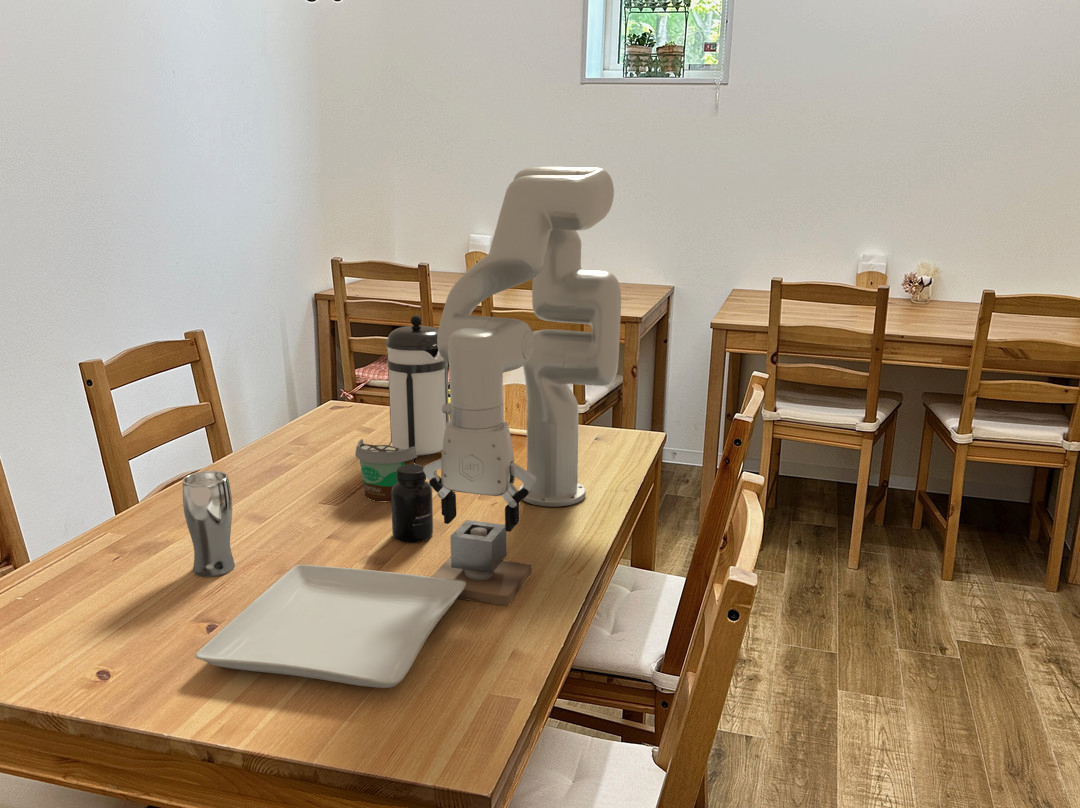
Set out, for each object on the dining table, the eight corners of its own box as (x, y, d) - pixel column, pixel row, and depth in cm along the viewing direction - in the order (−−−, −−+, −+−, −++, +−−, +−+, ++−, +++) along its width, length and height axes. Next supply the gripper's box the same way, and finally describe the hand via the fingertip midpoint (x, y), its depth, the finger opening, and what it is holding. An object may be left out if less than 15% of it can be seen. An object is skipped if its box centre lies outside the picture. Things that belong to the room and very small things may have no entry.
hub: (467, 550, 140) (466, 519, 139) (506, 555, 139) (506, 524, 137) (451, 567, 135) (450, 536, 133) (492, 573, 133) (491, 541, 131)
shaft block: (453, 562, 144) (452, 512, 142) (531, 573, 141) (531, 522, 138) (424, 593, 134) (422, 539, 132) (508, 606, 130) (507, 551, 128)
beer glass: (247, 562, 144) (239, 472, 140) (218, 581, 138) (209, 488, 134) (210, 556, 146) (201, 467, 142) (180, 574, 140) (170, 482, 136)
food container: (344, 498, 170) (341, 447, 168) (362, 488, 176) (359, 438, 173) (401, 508, 166) (399, 456, 163) (418, 497, 171) (416, 446, 169)
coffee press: (466, 444, 202) (463, 310, 194) (442, 468, 187) (438, 323, 179) (392, 438, 206) (386, 306, 198) (363, 461, 191) (356, 319, 183)
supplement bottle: (426, 545, 150) (423, 477, 147) (386, 542, 152) (383, 474, 148) (438, 529, 157) (436, 463, 154) (400, 526, 158) (398, 460, 155)
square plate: (469, 602, 133) (468, 577, 132) (399, 710, 107) (398, 681, 106) (298, 582, 138) (296, 558, 137) (193, 680, 113) (190, 652, 112)
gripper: (410, 417, 130) (416, 527, 135) (526, 428, 125) (527, 542, 130) (432, 402, 136) (437, 507, 142) (542, 412, 131) (543, 521, 137)
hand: (480, 524), depth 136 cm, fingers open, 9 cm apart
